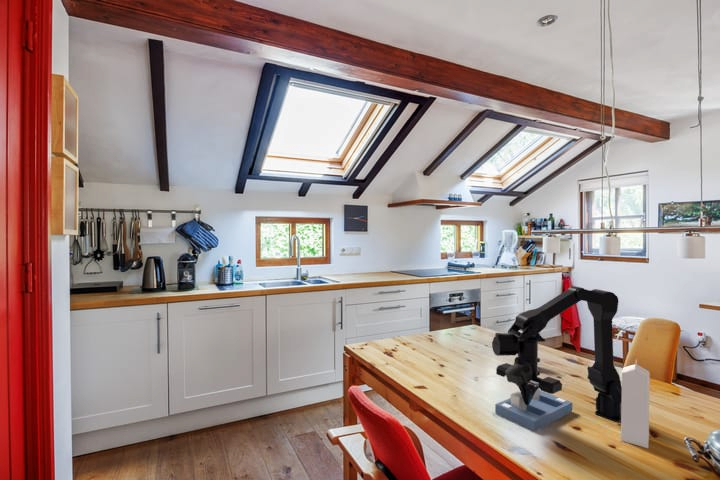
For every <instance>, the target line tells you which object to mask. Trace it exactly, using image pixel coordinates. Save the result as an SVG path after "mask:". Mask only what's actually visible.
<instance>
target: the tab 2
mask: <svg viewBox="0 0 720 480" xmlns="http://www.w3.org/2000/svg"><path fill="white" fill-rule="evenodd" d="M540 391H541V389H540V388H538V389H537V391H536V392H535V394H534V396H533V398H532V399H534V400H536V401H540Z"/></svg>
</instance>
